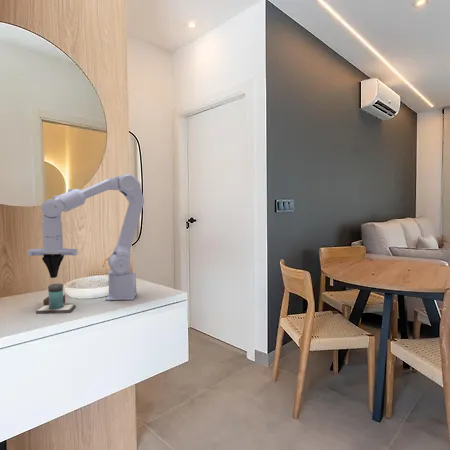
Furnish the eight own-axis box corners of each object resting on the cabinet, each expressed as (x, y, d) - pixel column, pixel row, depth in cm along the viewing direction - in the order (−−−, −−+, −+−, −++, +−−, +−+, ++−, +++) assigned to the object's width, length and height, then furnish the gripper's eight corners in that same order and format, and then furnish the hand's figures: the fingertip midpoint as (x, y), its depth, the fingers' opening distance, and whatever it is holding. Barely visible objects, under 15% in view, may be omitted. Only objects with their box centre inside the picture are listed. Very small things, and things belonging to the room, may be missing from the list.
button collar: (65, 302, 111) (65, 295, 111) (59, 307, 106) (59, 299, 106) (49, 302, 110) (49, 295, 110) (43, 307, 105) (43, 300, 105)
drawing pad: (75, 307, 106) (75, 304, 106) (70, 312, 101) (70, 309, 101) (42, 308, 105) (42, 304, 105) (35, 313, 100) (35, 310, 100)
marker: (65, 304, 105) (64, 283, 105) (60, 309, 101) (60, 287, 100) (51, 305, 105) (51, 283, 104) (46, 309, 100) (46, 287, 100)
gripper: (79, 234, 111) (80, 273, 112) (34, 234, 109) (35, 274, 110) (72, 237, 104) (73, 279, 105) (24, 237, 102) (25, 279, 103)
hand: (53, 277), depth 107 cm, fingers closed
